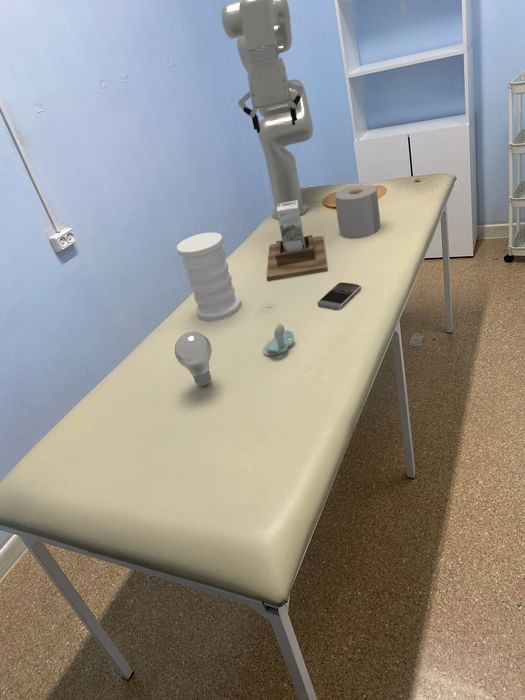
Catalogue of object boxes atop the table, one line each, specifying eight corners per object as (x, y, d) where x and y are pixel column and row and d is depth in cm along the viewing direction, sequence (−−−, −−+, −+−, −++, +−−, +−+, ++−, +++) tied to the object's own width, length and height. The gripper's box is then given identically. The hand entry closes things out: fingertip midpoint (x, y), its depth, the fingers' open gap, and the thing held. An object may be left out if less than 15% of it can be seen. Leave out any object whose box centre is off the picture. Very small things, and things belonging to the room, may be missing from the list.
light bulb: (208, 399, 95) (190, 347, 88) (181, 392, 99) (162, 342, 92) (228, 377, 99) (213, 326, 93) (201, 371, 103) (185, 322, 97)
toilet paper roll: (386, 222, 148) (383, 183, 142) (371, 239, 141) (367, 199, 134) (349, 222, 155) (344, 185, 148) (332, 238, 147) (327, 199, 141)
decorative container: (229, 292, 131) (211, 228, 121) (249, 307, 122) (231, 239, 112) (190, 309, 128) (168, 244, 118) (207, 326, 118) (185, 257, 109)
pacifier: (258, 357, 104) (283, 360, 100) (250, 332, 100) (276, 334, 97) (273, 338, 108) (298, 340, 105) (267, 313, 105) (292, 315, 102)
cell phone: (363, 289, 118) (362, 284, 118) (339, 313, 112) (338, 307, 111) (340, 286, 122) (339, 281, 121) (316, 308, 116) (315, 303, 115)
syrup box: (306, 249, 141) (297, 198, 133) (306, 257, 136) (297, 206, 129) (286, 252, 142) (277, 202, 134) (286, 260, 137) (276, 210, 129)
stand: (270, 248, 150) (267, 235, 148) (323, 239, 148) (321, 225, 145) (267, 281, 132) (264, 266, 130) (327, 271, 130) (325, 256, 127)
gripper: (297, 46, 126) (307, 118, 136) (231, 62, 129) (246, 132, 138) (297, 48, 120) (308, 123, 129) (228, 65, 123) (243, 137, 132)
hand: (276, 128), depth 134 cm, fingers open, 9 cm apart
